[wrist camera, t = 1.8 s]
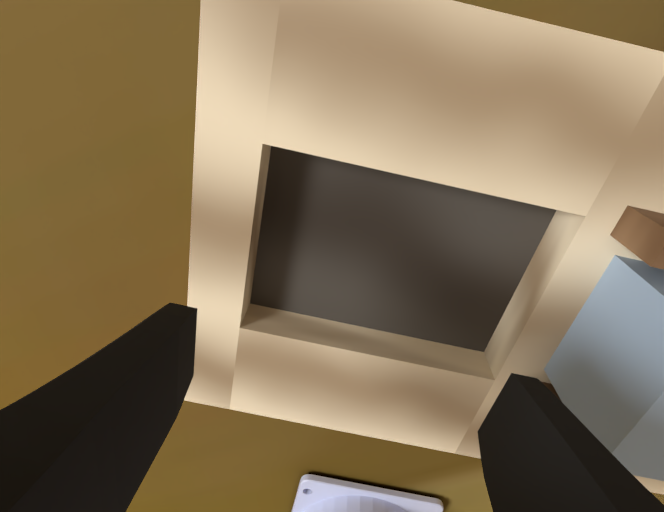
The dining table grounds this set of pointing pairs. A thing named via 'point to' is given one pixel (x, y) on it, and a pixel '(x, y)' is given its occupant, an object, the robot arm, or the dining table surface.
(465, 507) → the dining table surface
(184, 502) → the dining table surface
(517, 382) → the robot arm
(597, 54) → the birch deck
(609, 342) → the slate block
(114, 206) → the dining table surface
